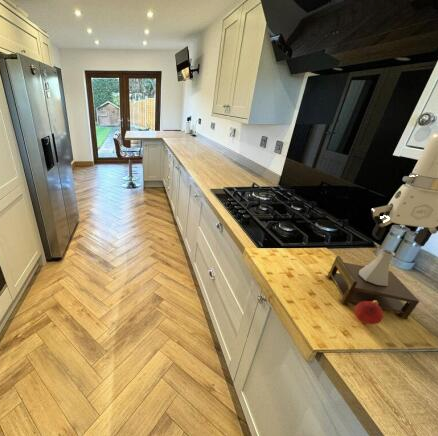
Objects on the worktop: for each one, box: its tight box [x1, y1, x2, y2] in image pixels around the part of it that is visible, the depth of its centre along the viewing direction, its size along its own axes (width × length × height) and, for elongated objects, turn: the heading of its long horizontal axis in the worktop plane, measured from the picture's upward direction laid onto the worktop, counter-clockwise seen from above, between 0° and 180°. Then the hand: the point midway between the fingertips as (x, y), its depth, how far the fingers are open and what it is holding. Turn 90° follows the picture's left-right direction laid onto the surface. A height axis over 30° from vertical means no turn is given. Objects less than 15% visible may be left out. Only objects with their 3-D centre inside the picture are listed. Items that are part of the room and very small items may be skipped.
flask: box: [359, 248, 396, 286], centre depth 71 cm, size 7×7×10 cm
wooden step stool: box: [326, 255, 420, 320], centre depth 75 cm, size 16×14×9 cm
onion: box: [354, 300, 385, 325], centre depth 65 cm, size 6×6×8 cm
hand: (396, 240), depth 67 cm, fingers open, 9 cm apart
